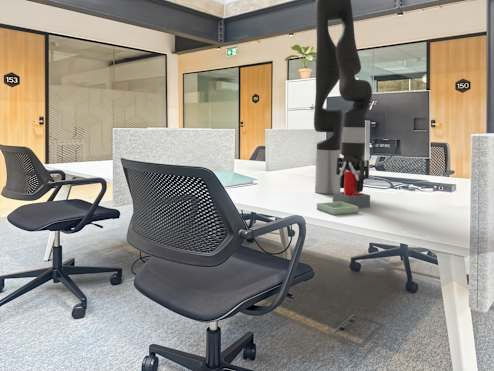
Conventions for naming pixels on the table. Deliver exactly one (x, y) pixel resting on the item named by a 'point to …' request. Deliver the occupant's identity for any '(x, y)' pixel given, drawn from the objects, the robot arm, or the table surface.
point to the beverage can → (350, 184)
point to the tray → (337, 208)
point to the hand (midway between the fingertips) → (350, 189)
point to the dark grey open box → (352, 199)
